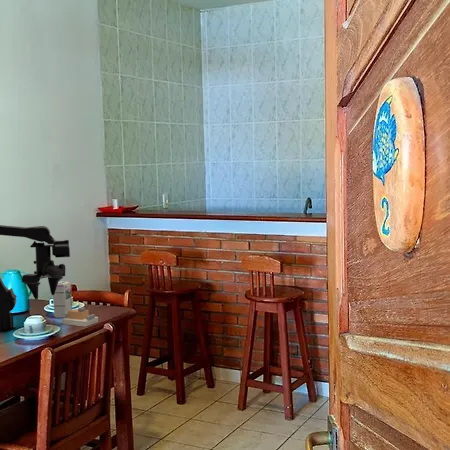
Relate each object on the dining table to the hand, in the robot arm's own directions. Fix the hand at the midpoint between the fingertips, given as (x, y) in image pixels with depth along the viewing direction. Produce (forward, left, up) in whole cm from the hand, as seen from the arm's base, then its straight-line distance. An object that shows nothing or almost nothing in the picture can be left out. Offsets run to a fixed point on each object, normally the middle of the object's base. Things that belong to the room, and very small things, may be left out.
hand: (44, 297), depth 248 cm
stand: (+9, -10, -12) cm, 18 cm away
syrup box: (+16, +5, -12) cm, 20 cm away
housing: (+9, -9, -10) cm, 16 cm away
